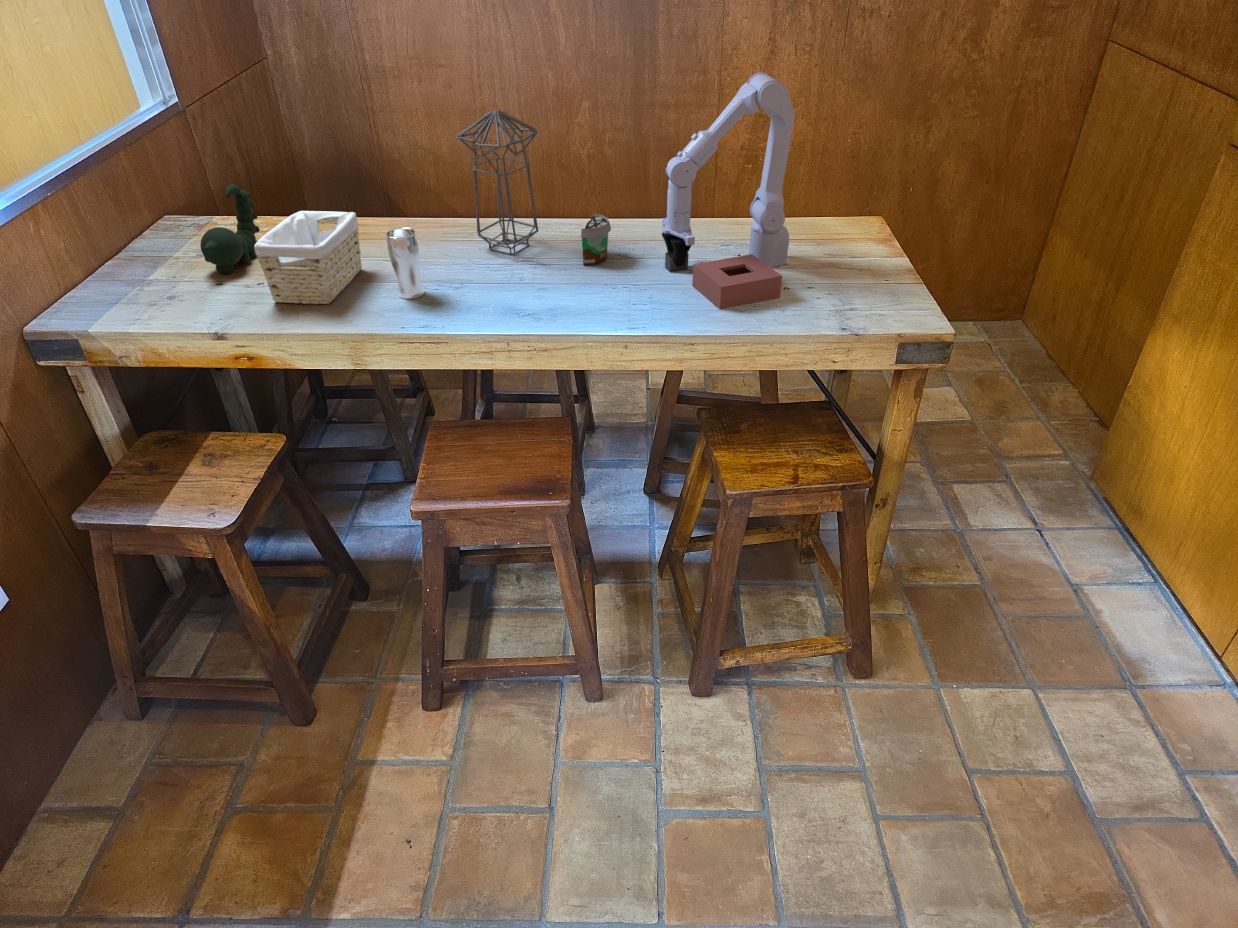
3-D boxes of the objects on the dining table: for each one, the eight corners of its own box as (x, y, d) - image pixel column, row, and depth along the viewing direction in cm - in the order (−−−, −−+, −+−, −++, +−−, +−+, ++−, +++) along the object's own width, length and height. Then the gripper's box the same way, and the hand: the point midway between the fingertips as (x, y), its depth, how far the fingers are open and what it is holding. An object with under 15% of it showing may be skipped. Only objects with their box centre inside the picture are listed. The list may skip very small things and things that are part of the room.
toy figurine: (241, 252, 213) (195, 282, 192) (223, 180, 203) (171, 203, 182) (275, 252, 213) (232, 283, 192) (258, 180, 203) (211, 203, 182)
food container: (605, 269, 199) (605, 231, 193) (582, 268, 200) (580, 229, 194) (615, 251, 208) (615, 214, 202) (593, 249, 209) (592, 212, 203)
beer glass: (400, 302, 184) (389, 240, 175) (393, 291, 189) (381, 230, 180) (429, 296, 187) (419, 235, 177) (421, 285, 191) (411, 225, 182)
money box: (749, 275, 195) (751, 254, 192) (779, 297, 185) (782, 275, 182) (692, 285, 191) (693, 264, 187) (719, 309, 180) (721, 287, 177)
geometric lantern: (549, 244, 212) (540, 107, 190) (513, 265, 202) (499, 123, 180) (504, 232, 219) (490, 98, 197) (466, 252, 209) (448, 113, 187)
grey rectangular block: (682, 264, 201) (683, 249, 199) (687, 269, 199) (688, 254, 196) (664, 267, 199) (665, 252, 197) (669, 272, 197) (670, 257, 195)
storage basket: (309, 265, 202) (295, 208, 193) (370, 267, 201) (358, 210, 192) (267, 306, 183) (249, 245, 174) (334, 309, 182) (319, 247, 173)
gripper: (651, 202, 194) (650, 255, 202) (676, 221, 183) (674, 276, 192) (677, 199, 196) (675, 251, 205) (703, 217, 186) (700, 271, 194)
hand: (676, 263), depth 198 cm, fingers closed on grey rectangular block, 3 cm apart
